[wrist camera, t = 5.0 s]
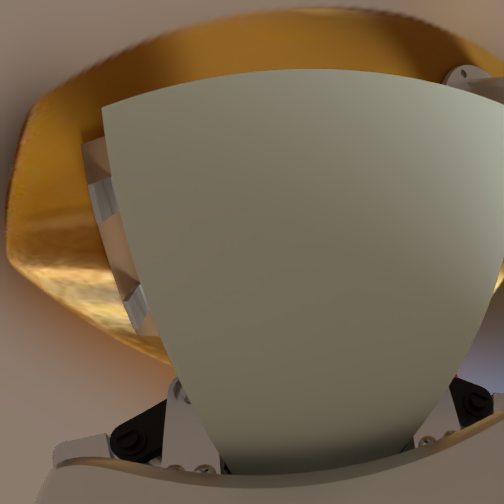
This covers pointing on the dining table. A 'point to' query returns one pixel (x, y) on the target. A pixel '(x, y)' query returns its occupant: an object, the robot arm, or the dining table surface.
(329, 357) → the pale grey rectangular block
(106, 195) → the board
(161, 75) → the dining table surface
